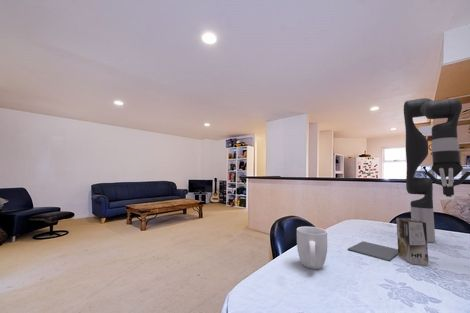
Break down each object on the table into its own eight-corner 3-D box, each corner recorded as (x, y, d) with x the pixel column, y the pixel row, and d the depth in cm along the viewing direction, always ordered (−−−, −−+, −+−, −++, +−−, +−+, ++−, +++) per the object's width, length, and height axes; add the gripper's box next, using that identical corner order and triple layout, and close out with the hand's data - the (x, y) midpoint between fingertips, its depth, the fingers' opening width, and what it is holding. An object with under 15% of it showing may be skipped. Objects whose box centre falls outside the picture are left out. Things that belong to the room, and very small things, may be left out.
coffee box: (429, 265, 81) (427, 222, 82) (410, 264, 82) (408, 221, 84) (414, 256, 90) (412, 217, 91) (397, 255, 91) (395, 217, 93)
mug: (331, 279, 69) (330, 238, 71) (296, 274, 73) (295, 235, 74) (326, 261, 84) (325, 227, 85) (297, 258, 87) (296, 225, 88)
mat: (362, 242, 108) (362, 241, 108) (401, 251, 96) (401, 250, 96) (347, 250, 97) (347, 248, 97) (389, 261, 85) (389, 259, 85)
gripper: (471, 150, 79) (475, 197, 77) (424, 153, 89) (427, 195, 87) (470, 148, 74) (474, 198, 73) (420, 151, 84) (423, 195, 83)
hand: (448, 196), depth 80 cm, fingers closed
